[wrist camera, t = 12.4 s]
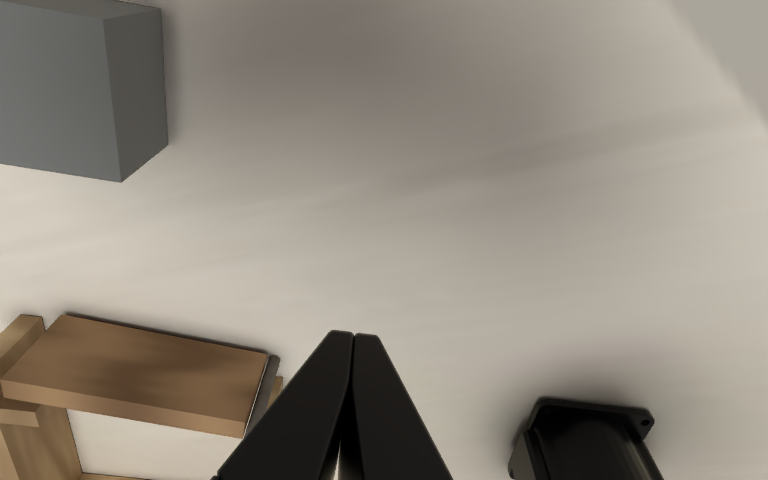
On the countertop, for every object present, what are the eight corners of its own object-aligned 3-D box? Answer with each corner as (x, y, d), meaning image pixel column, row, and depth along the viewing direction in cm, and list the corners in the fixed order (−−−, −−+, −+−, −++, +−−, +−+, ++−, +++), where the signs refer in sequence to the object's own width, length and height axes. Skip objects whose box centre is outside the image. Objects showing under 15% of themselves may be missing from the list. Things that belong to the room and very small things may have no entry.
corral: (284, 346, 24) (262, 425, 20) (274, 502, 31) (257, 584, 27) (20, 314, 24) (-60, 389, 19) (68, 481, 30) (17, 563, 26)
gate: (267, 354, 24) (245, 422, 21) (264, 369, 25) (242, 438, 21) (61, 314, 23) (0, 379, 20) (63, 331, 24) (3, 397, 20)
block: (162, 8, 17) (103, 19, 13) (169, 143, 19) (121, 182, 16) (14, -19, 16) (-87, -15, 13) (40, 122, 19) (-38, 157, 15)
